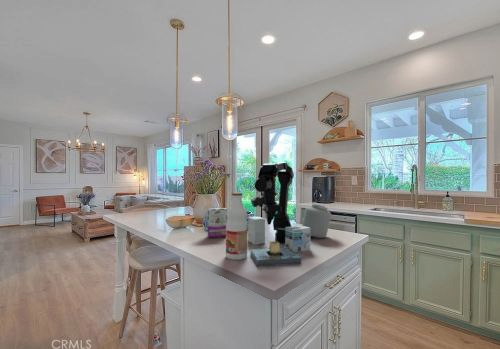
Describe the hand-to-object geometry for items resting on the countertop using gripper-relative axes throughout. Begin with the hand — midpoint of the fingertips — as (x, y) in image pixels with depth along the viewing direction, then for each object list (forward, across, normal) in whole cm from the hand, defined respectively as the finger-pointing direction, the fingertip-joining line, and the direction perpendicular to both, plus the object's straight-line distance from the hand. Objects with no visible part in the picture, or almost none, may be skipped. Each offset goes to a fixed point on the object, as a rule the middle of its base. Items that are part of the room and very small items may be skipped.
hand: (269, 224), depth 110 cm
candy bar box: (+13, -33, -22) cm, 42 cm away
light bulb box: (+13, -2, +15) cm, 20 cm away
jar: (+13, -23, +36) cm, 45 cm away
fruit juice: (+13, +3, -16) cm, 21 cm away
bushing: (+13, +9, 0) cm, 16 cm away
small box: (+13, -18, -2) cm, 22 cm away
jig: (+13, +9, 0) cm, 16 cm away
